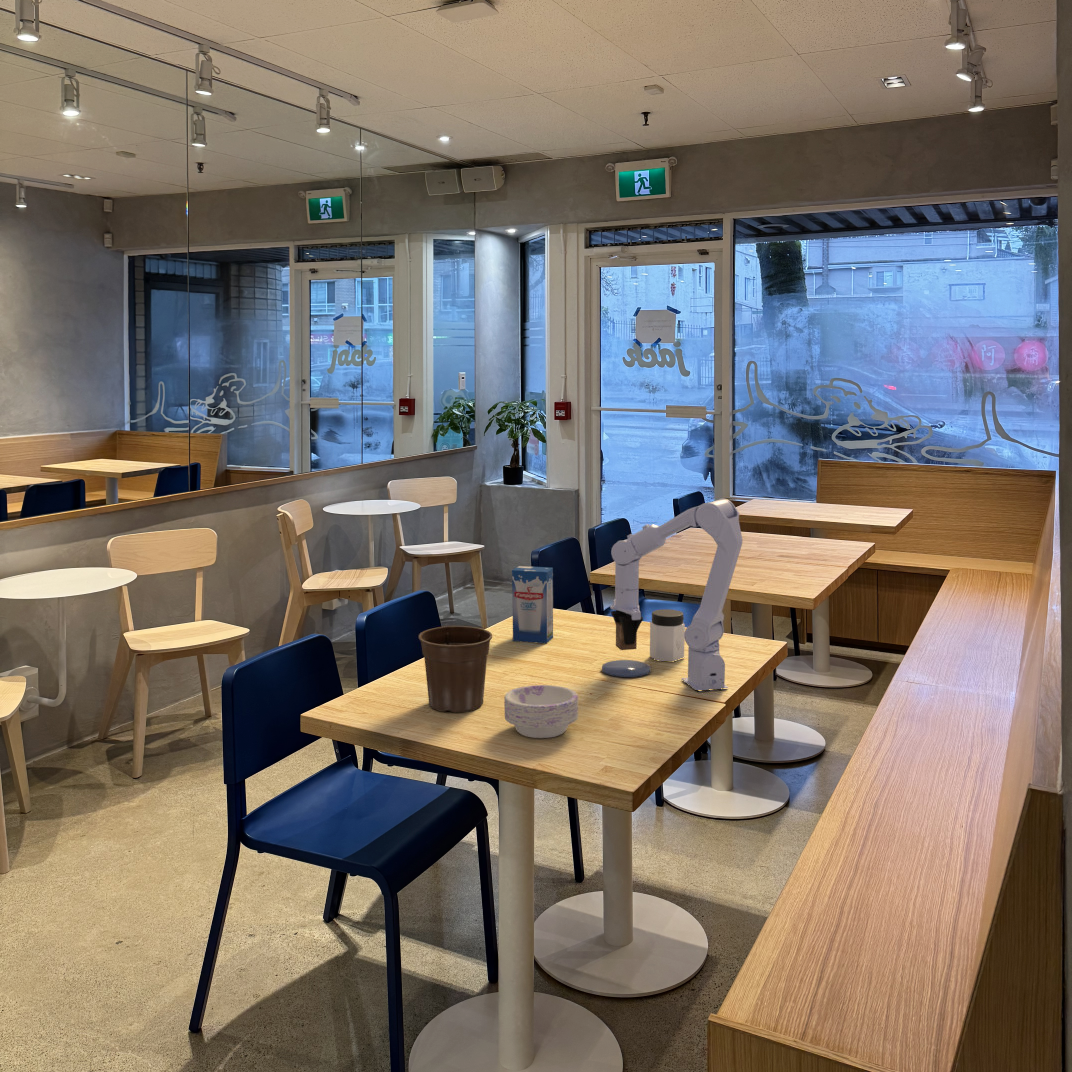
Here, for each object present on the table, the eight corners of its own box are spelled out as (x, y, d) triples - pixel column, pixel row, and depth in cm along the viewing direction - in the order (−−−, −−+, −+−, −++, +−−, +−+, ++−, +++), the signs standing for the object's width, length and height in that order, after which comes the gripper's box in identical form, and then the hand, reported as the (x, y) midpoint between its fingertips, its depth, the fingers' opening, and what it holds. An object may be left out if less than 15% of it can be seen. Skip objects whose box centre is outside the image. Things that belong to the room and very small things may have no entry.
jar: (668, 664, 252) (669, 618, 250) (643, 658, 258) (644, 613, 256) (690, 657, 258) (691, 612, 256) (665, 651, 264) (666, 607, 262)
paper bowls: (536, 713, 216) (535, 678, 215) (592, 729, 207) (592, 692, 206) (489, 733, 205) (488, 696, 203) (547, 750, 195) (546, 711, 194)
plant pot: (508, 704, 222) (507, 634, 219) (451, 722, 211) (449, 649, 209) (462, 688, 234) (460, 622, 231) (406, 704, 223) (404, 634, 220)
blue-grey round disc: (657, 675, 243) (657, 671, 242) (610, 679, 240) (611, 675, 239) (640, 662, 254) (640, 658, 254) (595, 665, 251) (595, 662, 251)
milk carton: (512, 640, 275) (511, 570, 272) (519, 635, 281) (518, 565, 278) (547, 643, 272) (546, 571, 269) (553, 637, 278) (553, 567, 275)
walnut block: (636, 649, 244) (636, 625, 243) (621, 650, 243) (621, 626, 242) (630, 644, 248) (631, 621, 247) (615, 645, 247) (615, 622, 246)
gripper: (602, 582, 249) (601, 635, 252) (621, 595, 236) (620, 650, 238) (628, 581, 251) (628, 633, 253) (649, 593, 237) (648, 648, 239)
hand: (626, 641), depth 246 cm, fingers closed on walnut block, 4 cm apart
